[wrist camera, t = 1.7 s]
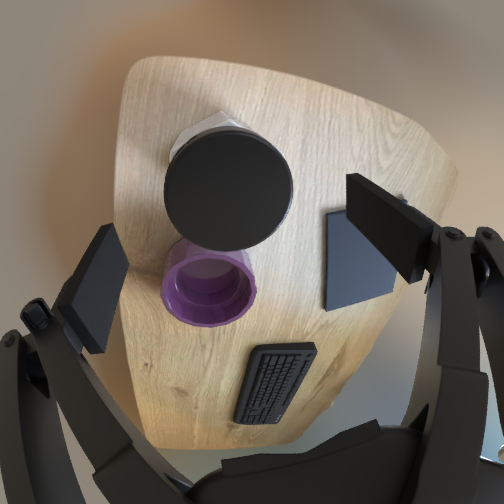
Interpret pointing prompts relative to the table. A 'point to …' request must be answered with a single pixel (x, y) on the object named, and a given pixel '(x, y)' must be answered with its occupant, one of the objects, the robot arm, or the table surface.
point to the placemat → (353, 265)
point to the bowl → (207, 285)
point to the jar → (226, 185)
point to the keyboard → (272, 381)
